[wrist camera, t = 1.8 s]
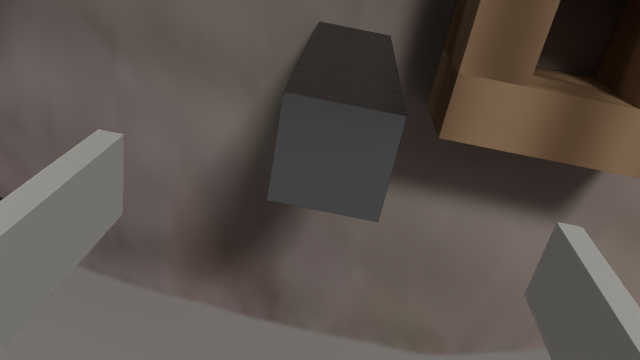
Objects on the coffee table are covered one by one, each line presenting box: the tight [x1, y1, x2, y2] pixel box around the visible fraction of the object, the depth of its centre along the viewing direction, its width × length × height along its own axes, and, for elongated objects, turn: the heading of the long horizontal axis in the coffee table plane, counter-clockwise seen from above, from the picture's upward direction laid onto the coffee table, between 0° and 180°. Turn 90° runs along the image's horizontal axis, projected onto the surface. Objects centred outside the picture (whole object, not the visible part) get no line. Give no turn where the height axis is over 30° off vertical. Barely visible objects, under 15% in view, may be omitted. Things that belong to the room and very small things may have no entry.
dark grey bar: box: [267, 22, 407, 222], centre depth 26 cm, size 4×4×15 cm
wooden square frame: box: [428, 0, 640, 178], centre depth 28 cm, size 13×13×6 cm
